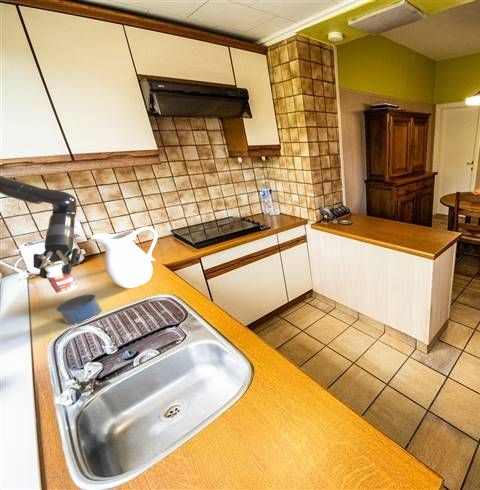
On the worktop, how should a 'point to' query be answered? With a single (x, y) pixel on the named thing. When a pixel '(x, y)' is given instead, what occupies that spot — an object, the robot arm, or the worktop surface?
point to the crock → (79, 309)
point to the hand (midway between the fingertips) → (55, 276)
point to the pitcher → (126, 258)
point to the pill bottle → (60, 278)
